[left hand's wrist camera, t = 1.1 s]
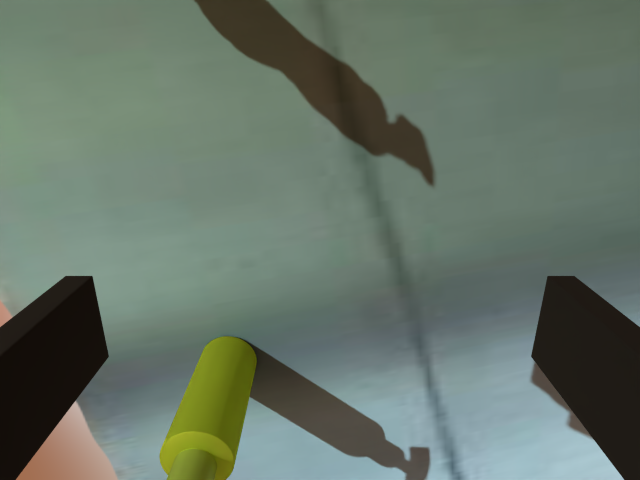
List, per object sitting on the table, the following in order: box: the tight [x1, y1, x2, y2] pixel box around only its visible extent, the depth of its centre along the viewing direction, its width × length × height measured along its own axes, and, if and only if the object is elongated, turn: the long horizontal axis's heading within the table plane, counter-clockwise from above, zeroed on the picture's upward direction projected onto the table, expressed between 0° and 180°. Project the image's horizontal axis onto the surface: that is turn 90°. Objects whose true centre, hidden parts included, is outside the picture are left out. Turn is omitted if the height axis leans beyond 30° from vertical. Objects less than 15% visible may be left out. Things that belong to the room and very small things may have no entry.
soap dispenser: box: [160, 336, 257, 480], centre depth 37 cm, size 6×7×20 cm
